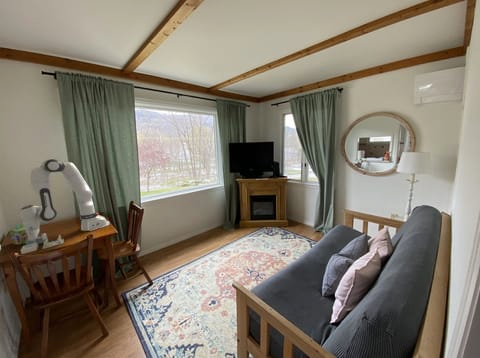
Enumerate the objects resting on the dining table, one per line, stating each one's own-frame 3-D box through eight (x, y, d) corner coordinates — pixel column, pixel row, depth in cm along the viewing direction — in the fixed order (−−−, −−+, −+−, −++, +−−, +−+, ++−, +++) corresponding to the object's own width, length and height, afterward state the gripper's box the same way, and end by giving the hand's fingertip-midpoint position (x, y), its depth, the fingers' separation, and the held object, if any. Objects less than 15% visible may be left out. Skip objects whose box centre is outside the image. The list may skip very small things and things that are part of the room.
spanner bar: (46, 240, 171) (44, 235, 170) (45, 242, 168) (44, 237, 167) (27, 245, 164) (26, 239, 163) (26, 246, 162) (25, 241, 161)
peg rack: (63, 240, 170) (62, 234, 169) (63, 243, 164) (61, 238, 163) (44, 244, 163) (42, 239, 162) (42, 248, 157) (41, 242, 156)
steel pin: (48, 241, 168) (46, 232, 167) (47, 243, 166) (45, 234, 164) (43, 243, 166) (41, 233, 165) (42, 244, 164) (40, 235, 162)
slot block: (38, 246, 162) (37, 242, 161) (36, 250, 155) (35, 246, 155) (24, 249, 157) (23, 245, 156) (21, 254, 151) (20, 250, 150)
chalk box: (23, 244, 165) (18, 227, 162) (12, 244, 165) (7, 227, 162) (34, 239, 174) (30, 222, 171) (24, 239, 174) (20, 222, 171)
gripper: (35, 228, 157) (39, 245, 159) (39, 220, 173) (43, 235, 176) (23, 231, 153) (27, 248, 156) (29, 222, 169) (33, 238, 172)
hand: (36, 241), depth 166 cm, fingers open, 4 cm apart
